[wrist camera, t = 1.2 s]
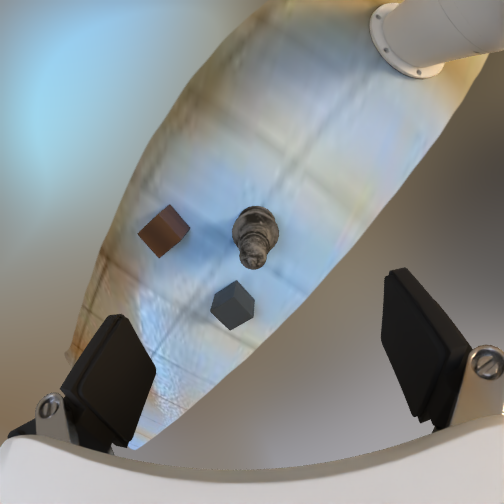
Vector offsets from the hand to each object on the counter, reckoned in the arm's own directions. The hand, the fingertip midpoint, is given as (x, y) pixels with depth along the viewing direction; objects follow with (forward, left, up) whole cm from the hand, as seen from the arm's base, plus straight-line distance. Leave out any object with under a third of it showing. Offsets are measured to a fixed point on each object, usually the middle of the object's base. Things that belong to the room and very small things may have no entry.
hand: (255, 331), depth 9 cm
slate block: (+15, +12, -29) cm, 34 cm away
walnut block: (+14, -3, -29) cm, 32 cm away
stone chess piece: (+4, +4, -29) cm, 30 cm away
